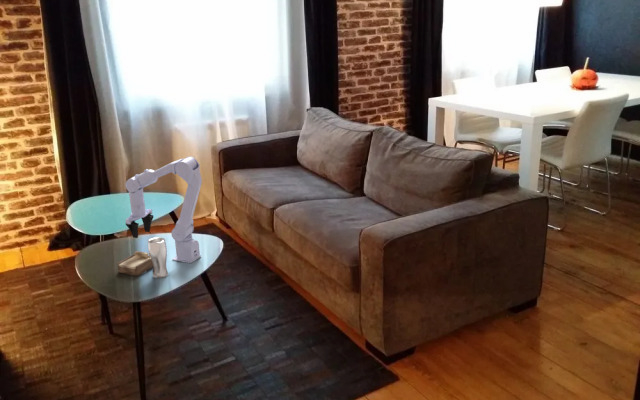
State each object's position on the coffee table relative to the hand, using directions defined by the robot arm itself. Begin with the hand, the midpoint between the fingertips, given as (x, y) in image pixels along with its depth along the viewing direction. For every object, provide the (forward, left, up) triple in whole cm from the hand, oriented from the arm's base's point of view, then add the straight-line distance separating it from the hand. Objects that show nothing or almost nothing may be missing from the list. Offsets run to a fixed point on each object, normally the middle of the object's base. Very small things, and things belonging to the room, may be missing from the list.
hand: (141, 234), depth 260 cm
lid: (-7, +13, -7) cm, 16 cm away
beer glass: (-19, +14, -10) cm, 26 cm away
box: (-7, +12, -10) cm, 17 cm away
